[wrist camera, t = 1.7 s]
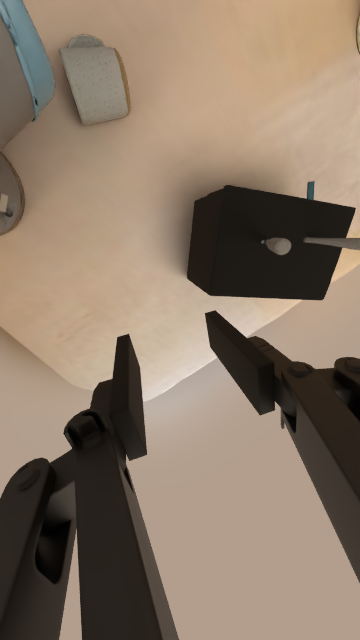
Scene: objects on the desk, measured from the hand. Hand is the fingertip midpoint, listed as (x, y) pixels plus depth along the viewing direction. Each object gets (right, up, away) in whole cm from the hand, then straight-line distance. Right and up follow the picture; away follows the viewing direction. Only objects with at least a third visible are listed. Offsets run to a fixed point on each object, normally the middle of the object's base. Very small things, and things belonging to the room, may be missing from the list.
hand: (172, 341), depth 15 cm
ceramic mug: (-13, +39, +20) cm, 45 cm away
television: (+13, +18, +34) cm, 41 cm away
